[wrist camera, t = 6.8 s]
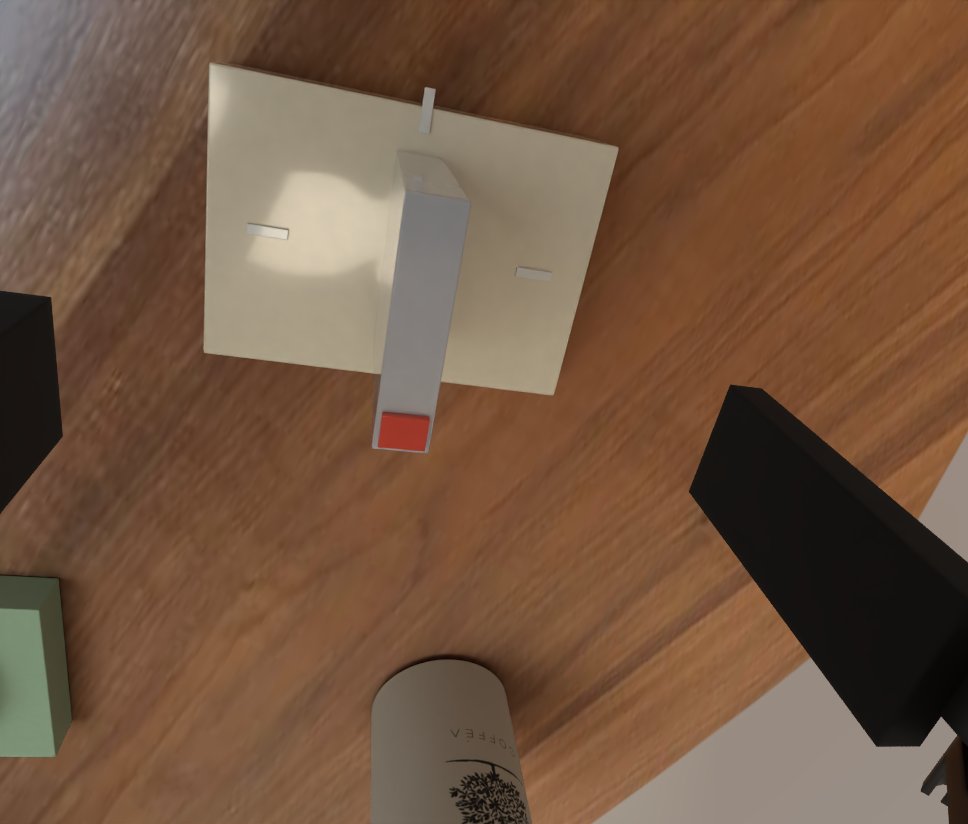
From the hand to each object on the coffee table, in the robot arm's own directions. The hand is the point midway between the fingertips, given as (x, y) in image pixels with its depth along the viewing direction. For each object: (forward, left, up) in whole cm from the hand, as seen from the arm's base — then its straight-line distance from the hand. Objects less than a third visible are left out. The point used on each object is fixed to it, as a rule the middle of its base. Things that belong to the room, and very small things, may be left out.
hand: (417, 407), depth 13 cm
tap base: (0, 0, -16) cm, 16 cm away
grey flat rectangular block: (0, 0, -13) cm, 13 cm away
